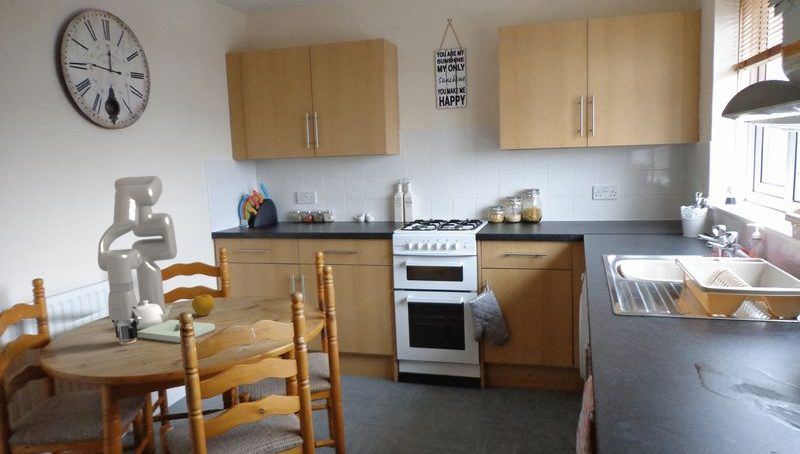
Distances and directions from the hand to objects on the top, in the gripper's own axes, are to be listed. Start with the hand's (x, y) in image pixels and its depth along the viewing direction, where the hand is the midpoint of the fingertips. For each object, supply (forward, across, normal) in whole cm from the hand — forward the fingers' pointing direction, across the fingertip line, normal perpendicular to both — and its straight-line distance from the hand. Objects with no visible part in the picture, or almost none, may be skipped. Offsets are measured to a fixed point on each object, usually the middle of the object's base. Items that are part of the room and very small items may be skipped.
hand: (127, 337), depth 204 cm
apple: (+2, +1, +36) cm, 36 cm away
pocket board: (+2, +10, +13) cm, 17 cm away
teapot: (+2, -10, +18) cm, 21 cm away
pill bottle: (+2, 0, 0) cm, 2 cm away
